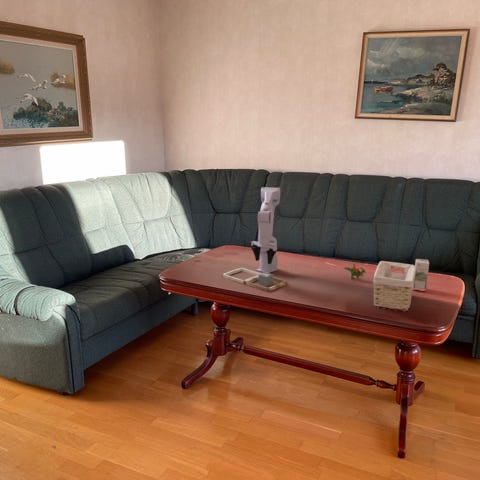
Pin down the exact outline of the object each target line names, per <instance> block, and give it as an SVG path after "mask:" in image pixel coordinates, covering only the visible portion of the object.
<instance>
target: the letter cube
mask: <svg viewBox="0 0 480 480" xmlns="http://www.w3.org/2000/svg"><path fill="white" fill-rule="evenodd" d="M273 277H274V274H272V273H266V272H262V273H261V274H259V277H258V280H257V281H258V282H257V285H260V286H263V287H267V288H268V287H269V286H270V287H271V286H273V283H274V281H273Z"/></svg>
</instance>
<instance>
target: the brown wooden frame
mask: <svg viewBox="0 0 480 480" xmlns="http://www.w3.org/2000/svg"><path fill="white" fill-rule="evenodd" d="M258 277H259V276H257V277H255V278H252V279H249V278H248V279H249V280H247V281H245V284H244V285H246V286H248V287H252V288H255V289H259V290H261V291H265V292H268V293H269V292H271V291H274V290H276V289H279V288H281V287H284V286H286V285H287V284H288V280H285V279H281V278H278V277H275V276H273V282H277V284H274V285H271V286H270V287H269V286H267V287H265V286H262V285H259V284H258V283H257V284H256V283H254V282H255V281H258Z"/></svg>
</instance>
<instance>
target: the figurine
mask: <svg viewBox="0 0 480 480" xmlns="http://www.w3.org/2000/svg"><path fill="white" fill-rule="evenodd" d="M352 265H353V267H349V266H347V267H346V266H345V267H343V269H345V270H347V271H349V272H350V274H351V275H350V279H351V280H352V279H353V280H354V276H355V277H356V280H357V281H358V280H359V279H360V277H363V276H365V274H367V272H366V270H365V268H363V267H362V266H361V267H359V268H358V267H357V266H356V264H355V263H353V264H352ZM356 267H357V268H356Z"/></svg>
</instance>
